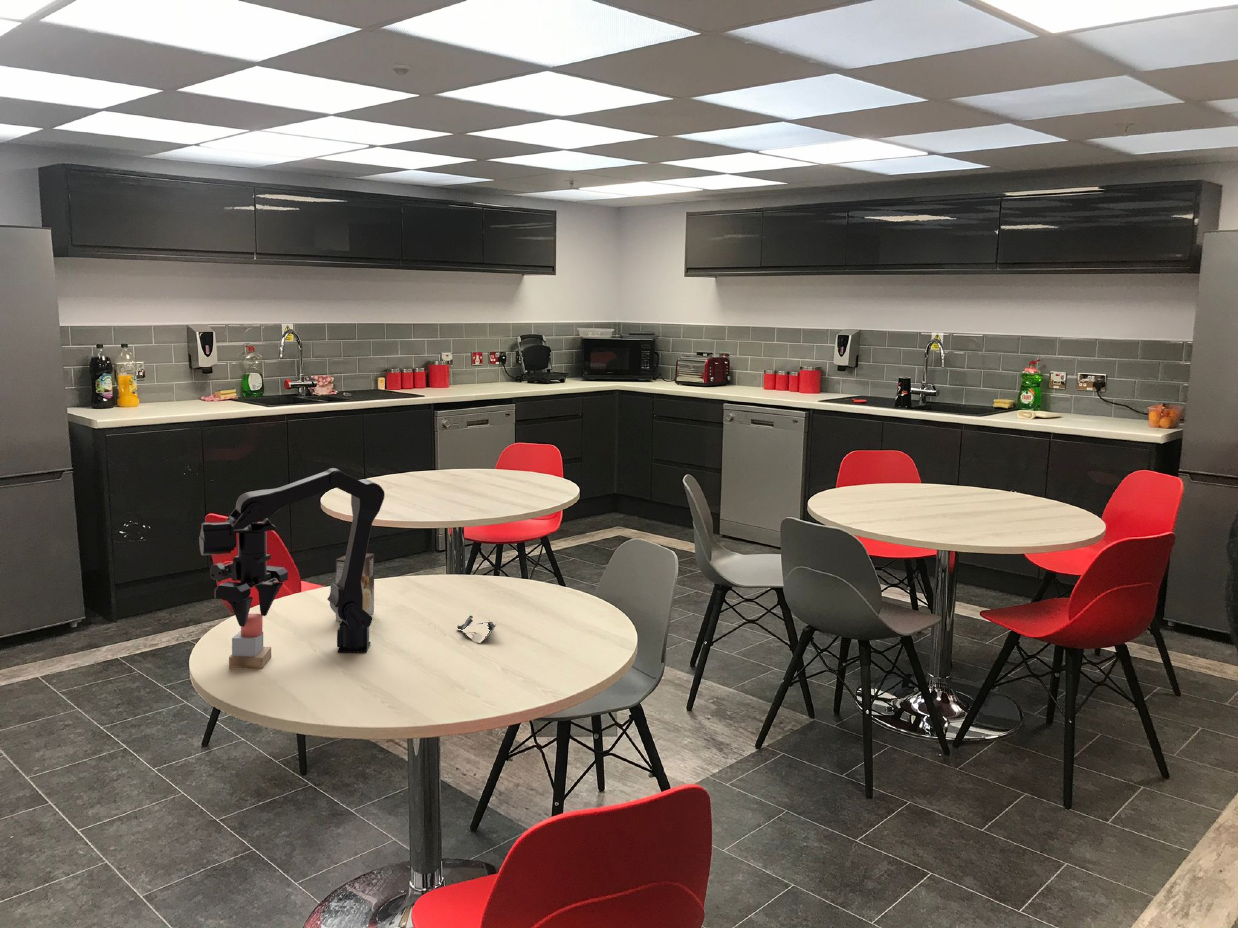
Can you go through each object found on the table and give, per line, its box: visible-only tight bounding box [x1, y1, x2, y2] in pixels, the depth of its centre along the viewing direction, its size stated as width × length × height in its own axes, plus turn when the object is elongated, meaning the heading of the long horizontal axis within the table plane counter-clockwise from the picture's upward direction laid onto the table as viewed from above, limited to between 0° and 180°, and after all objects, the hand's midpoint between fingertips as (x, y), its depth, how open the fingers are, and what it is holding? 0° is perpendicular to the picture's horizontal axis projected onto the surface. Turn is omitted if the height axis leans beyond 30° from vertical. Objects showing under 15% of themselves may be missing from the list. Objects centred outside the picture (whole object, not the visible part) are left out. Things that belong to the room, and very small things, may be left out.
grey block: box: [231, 630, 264, 657], centre depth 203 cm, size 5×5×4 cm
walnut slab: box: [228, 646, 272, 670], centre depth 204 cm, size 7×7×3 cm
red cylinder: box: [240, 613, 264, 637], centre depth 204 cm, size 4×4×4 cm
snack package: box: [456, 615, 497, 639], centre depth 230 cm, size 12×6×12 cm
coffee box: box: [335, 553, 375, 622], centre depth 239 cm, size 9×6×16 cm
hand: (253, 620), depth 203 cm, fingers open, 8 cm apart
